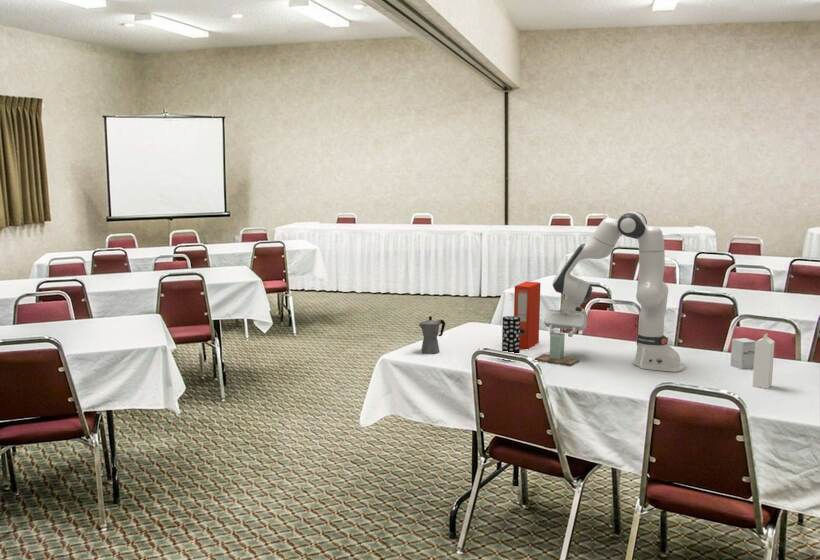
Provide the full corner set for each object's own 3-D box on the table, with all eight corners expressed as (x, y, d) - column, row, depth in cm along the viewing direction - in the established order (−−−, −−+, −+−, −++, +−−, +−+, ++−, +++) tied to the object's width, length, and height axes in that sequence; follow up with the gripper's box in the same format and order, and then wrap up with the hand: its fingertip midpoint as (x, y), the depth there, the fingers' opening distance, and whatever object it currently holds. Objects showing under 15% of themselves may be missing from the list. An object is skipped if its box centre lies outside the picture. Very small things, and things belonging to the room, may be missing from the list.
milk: (771, 385, 305) (775, 333, 302) (767, 389, 300) (771, 336, 297) (756, 383, 309) (759, 331, 306) (751, 386, 304) (755, 334, 301)
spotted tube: (519, 356, 355) (519, 316, 352) (519, 361, 346) (520, 319, 344) (501, 356, 356) (502, 316, 353) (502, 360, 347) (502, 319, 344)
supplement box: (741, 369, 330) (742, 342, 328) (729, 365, 337) (731, 338, 336) (754, 368, 332) (756, 341, 330) (743, 364, 339) (745, 337, 337)
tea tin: (564, 358, 347) (564, 333, 345) (559, 360, 342) (560, 335, 341) (554, 356, 349) (554, 332, 348) (549, 359, 345) (550, 334, 344)
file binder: (539, 342, 384) (540, 282, 379) (528, 350, 368) (529, 287, 364) (524, 341, 387) (525, 281, 383) (513, 348, 372) (514, 285, 368)
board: (578, 361, 345) (578, 359, 345) (570, 366, 337) (570, 363, 337) (543, 356, 355) (543, 354, 355) (534, 360, 347) (534, 358, 347)
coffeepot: (424, 355, 358) (424, 319, 355) (414, 351, 366) (414, 316, 363) (450, 351, 366) (450, 316, 363) (439, 347, 374) (439, 313, 371)
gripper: (547, 305, 357) (538, 328, 351) (587, 309, 345) (579, 333, 339) (550, 313, 361) (542, 336, 355) (590, 317, 350) (582, 341, 343)
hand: (560, 335), depth 347 cm, fingers open, 8 cm apart
